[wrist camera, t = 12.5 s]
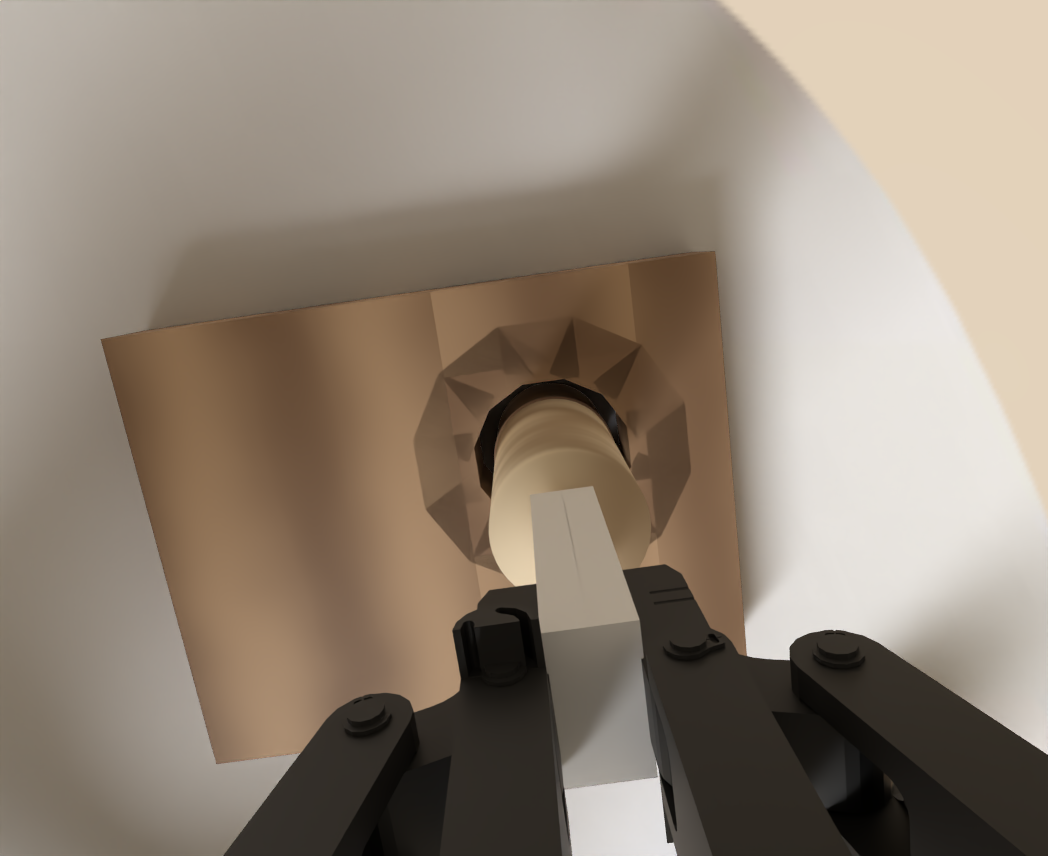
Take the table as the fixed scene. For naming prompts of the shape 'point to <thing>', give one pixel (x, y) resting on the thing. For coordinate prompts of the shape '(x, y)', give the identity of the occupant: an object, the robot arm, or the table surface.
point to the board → (402, 474)
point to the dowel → (559, 476)
